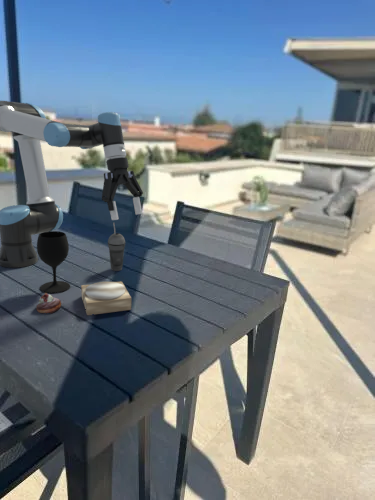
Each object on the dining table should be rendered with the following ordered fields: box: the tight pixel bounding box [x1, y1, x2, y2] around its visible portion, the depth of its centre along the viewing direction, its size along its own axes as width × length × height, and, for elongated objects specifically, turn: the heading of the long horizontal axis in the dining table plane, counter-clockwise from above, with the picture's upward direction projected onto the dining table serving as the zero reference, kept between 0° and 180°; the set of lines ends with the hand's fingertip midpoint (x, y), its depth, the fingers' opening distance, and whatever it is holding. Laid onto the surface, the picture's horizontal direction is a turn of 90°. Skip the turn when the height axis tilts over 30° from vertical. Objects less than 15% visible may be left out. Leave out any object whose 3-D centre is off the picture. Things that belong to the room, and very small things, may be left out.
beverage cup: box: [107, 222, 126, 272], centre depth 145 cm, size 7×7×20 cm
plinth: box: [80, 281, 132, 316], centre depth 117 cm, size 14×14×5 cm
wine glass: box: [36, 230, 71, 295], centre depth 124 cm, size 10×10×20 cm
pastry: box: [36, 293, 62, 315], centre depth 112 cm, size 8×8×5 cm
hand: (127, 217), depth 129 cm, fingers open, 13 cm apart
